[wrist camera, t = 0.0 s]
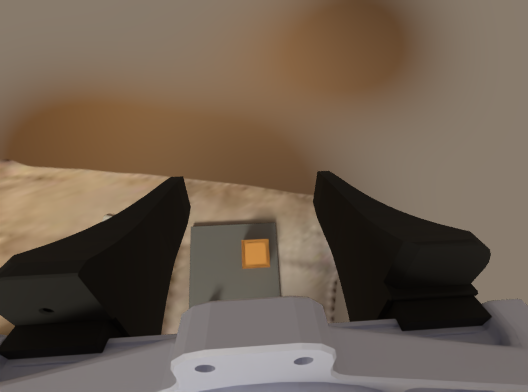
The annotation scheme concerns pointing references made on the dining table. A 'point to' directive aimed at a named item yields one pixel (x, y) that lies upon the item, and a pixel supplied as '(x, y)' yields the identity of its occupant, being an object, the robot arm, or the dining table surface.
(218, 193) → the dining table surface
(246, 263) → the orange panelled cube
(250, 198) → the dining table surface
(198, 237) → the board
